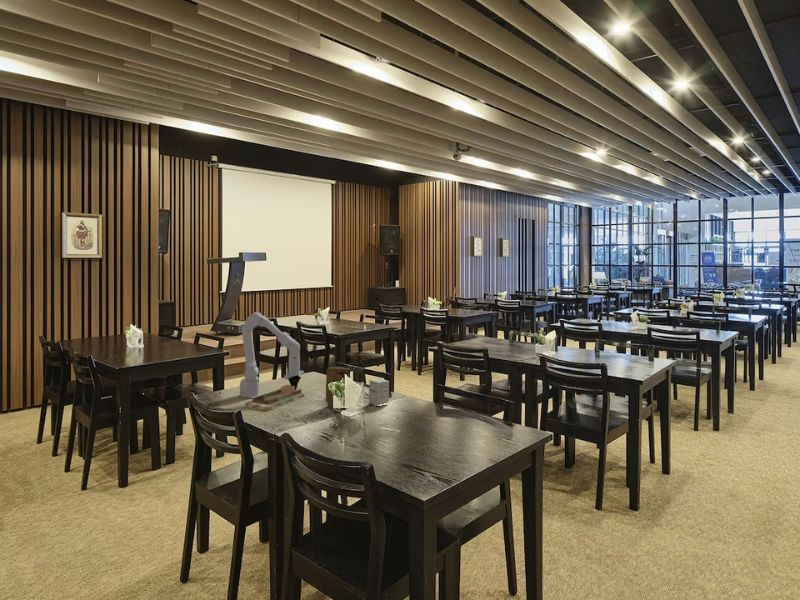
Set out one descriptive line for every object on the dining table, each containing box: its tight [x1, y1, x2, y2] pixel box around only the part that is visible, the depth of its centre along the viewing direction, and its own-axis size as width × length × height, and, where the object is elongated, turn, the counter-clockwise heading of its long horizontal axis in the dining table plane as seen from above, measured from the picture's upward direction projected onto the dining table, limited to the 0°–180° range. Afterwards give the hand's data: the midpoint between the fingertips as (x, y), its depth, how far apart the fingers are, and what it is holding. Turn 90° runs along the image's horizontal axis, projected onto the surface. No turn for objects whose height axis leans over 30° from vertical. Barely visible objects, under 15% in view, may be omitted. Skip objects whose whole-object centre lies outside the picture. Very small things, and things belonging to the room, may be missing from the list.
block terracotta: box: [280, 384, 296, 395], centre depth 266 cm, size 5×5×4 cm
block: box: [325, 366, 349, 410], centre depth 251 cm, size 11×8×20 cm
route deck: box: [244, 388, 305, 412], centre depth 258 cm, size 14×29×4 cm, turn 155°
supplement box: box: [368, 377, 390, 406], centre depth 258 cm, size 7×7×13 cm
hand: (294, 390), depth 271 cm, fingers closed
